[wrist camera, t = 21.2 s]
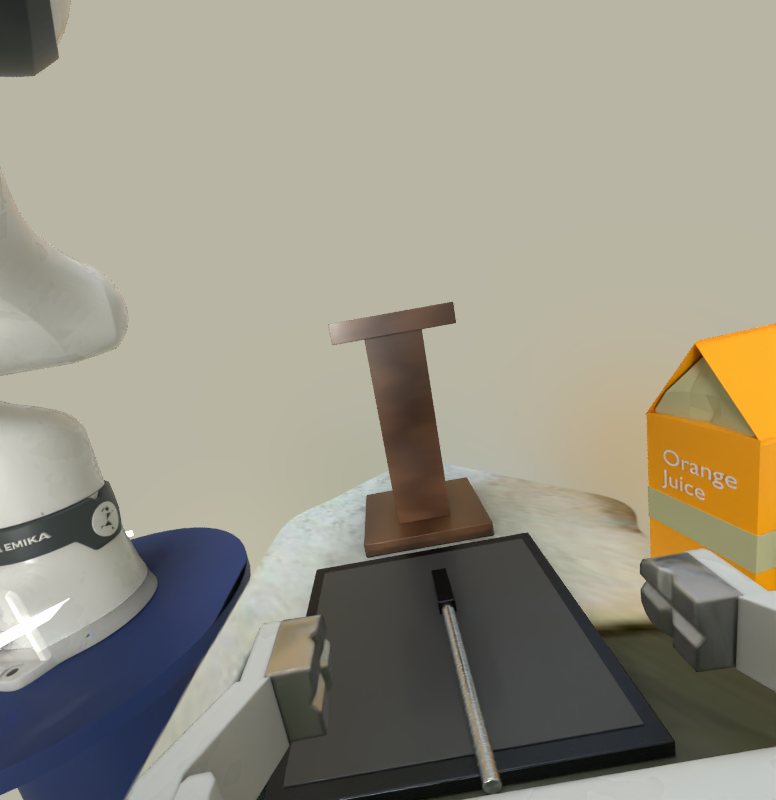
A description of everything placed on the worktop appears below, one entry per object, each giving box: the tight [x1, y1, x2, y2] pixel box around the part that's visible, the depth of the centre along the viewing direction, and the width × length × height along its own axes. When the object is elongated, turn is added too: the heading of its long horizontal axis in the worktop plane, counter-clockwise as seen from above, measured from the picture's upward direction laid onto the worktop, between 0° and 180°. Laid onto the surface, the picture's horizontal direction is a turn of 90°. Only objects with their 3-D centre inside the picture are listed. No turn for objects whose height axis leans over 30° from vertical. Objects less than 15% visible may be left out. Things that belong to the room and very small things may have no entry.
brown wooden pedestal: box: [328, 302, 494, 557], centre depth 45 cm, size 14×12×25 cm
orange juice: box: [646, 324, 776, 591], centre depth 27 cm, size 8×9×20 cm
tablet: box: [264, 533, 675, 800], centre depth 30 cm, size 22×20×1 cm
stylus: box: [431, 568, 502, 794], centre depth 27 cm, size 1×16×1 cm, turn 3°
